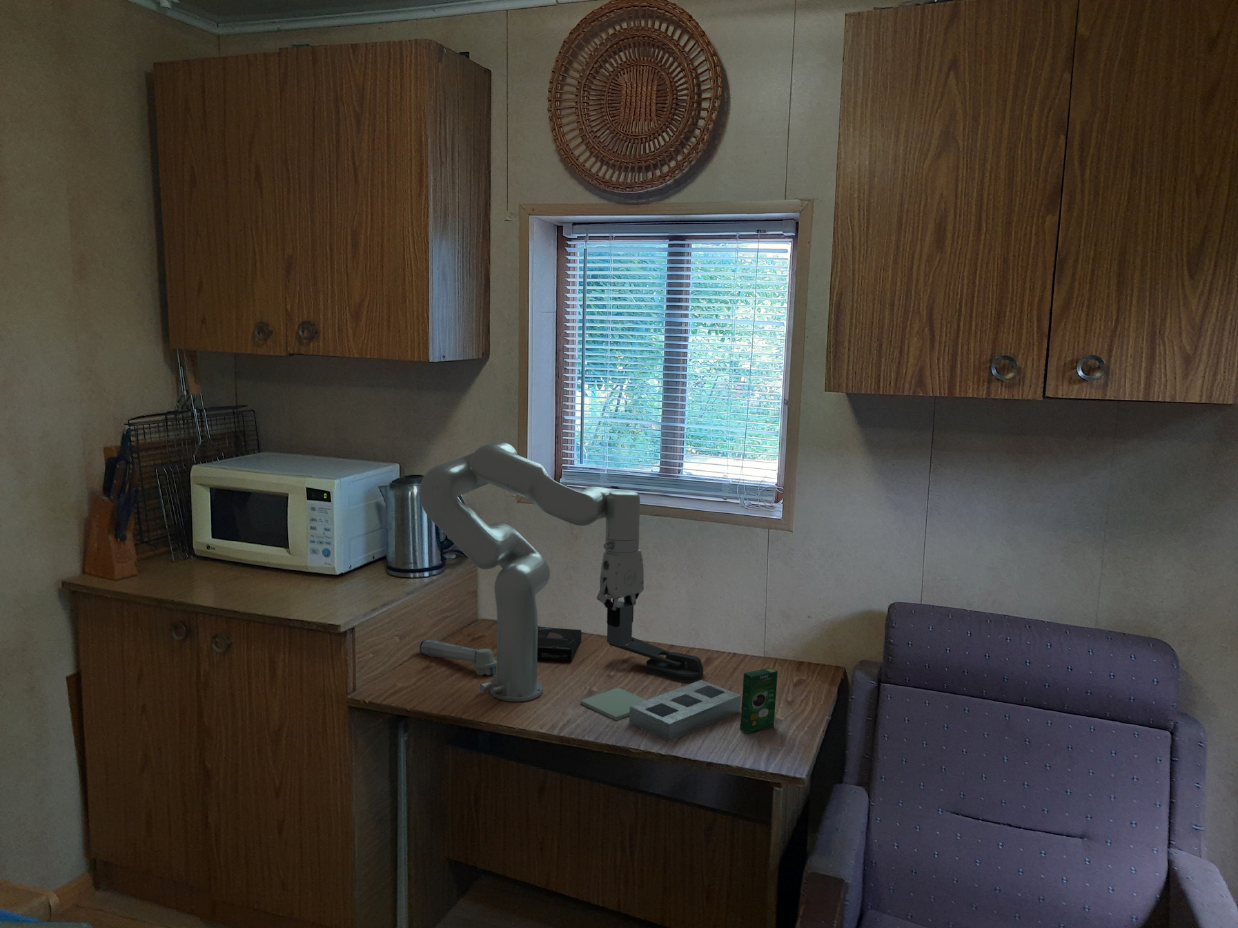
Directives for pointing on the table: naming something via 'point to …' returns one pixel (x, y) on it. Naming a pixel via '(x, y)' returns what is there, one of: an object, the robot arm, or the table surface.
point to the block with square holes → (684, 710)
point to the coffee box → (758, 700)
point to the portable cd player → (557, 644)
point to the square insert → (621, 626)
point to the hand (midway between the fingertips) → (620, 622)
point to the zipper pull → (667, 662)
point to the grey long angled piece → (461, 655)
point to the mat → (613, 703)
